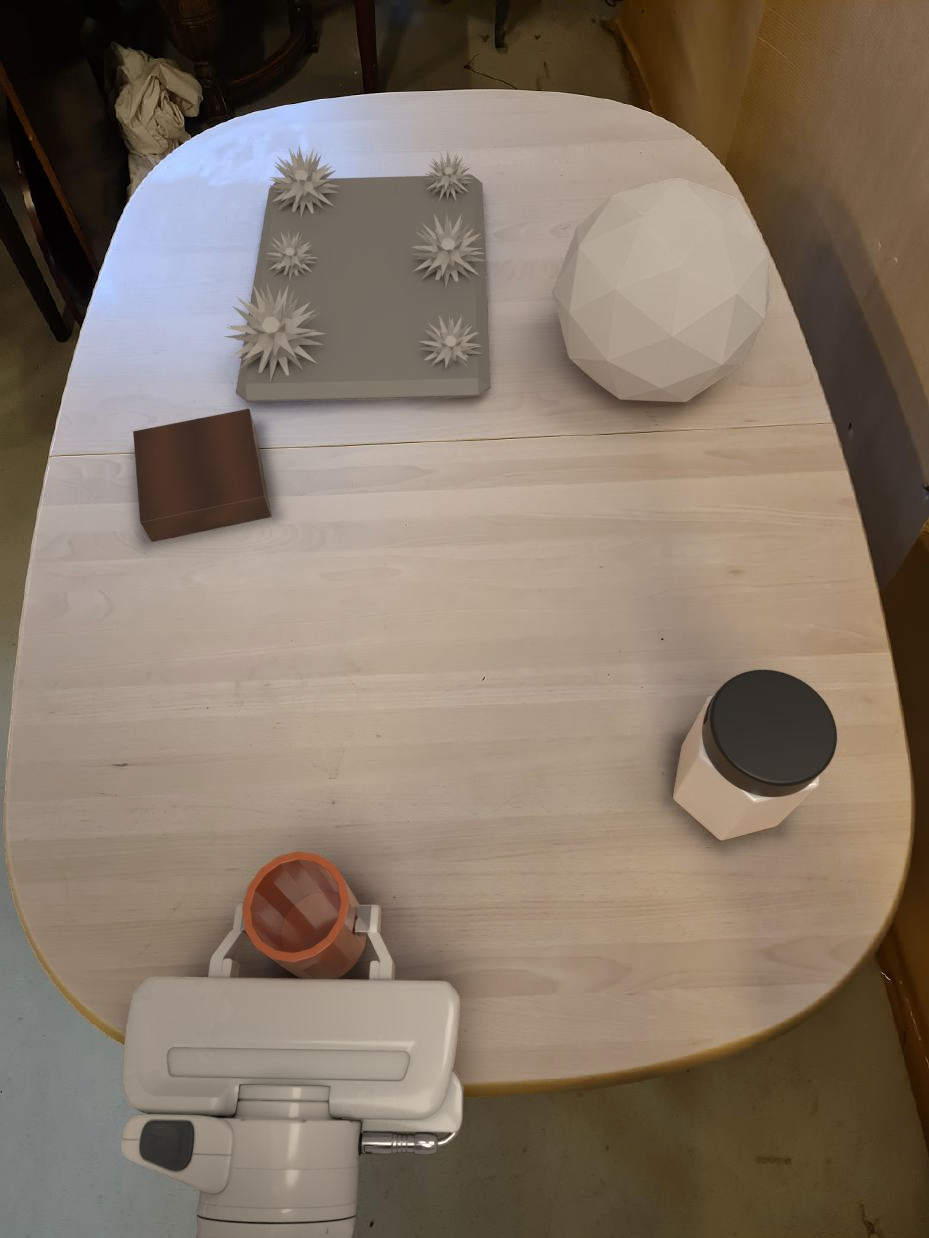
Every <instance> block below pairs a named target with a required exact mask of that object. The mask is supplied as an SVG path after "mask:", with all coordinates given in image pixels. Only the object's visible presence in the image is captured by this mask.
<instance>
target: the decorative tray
mask: <svg viewBox="0 0 929 1238" xmlns="http://www.w3.org/2000/svg"><path fill="white" fill-rule="evenodd" d="M314 149H315V147H313V148H312V150H311V152H310V155H309V156H308V155H306V156H305V160H304V158H303V154H302V151H301V148H300V146H298V151H296V155H295V152H294V151H293V152H292V150H291V149H290V148H288V151H289V155H290V156H289V157H290V160H291V163H290V162H289V161H288V160H287V159H285V158H284V160H285V161H284V160H283V159H281V157H279V156H278V155H276V157H277V159H278V160H279V162H280V163H281V164H282V165H283V166H282V165H280V164H279V163H277V162H276V161H275V160H274V163H275V165H274V167H275V168H276V170H277V171H279V172H280V174H282V176H284V177H282V176H281V177H279V176H276V177H275V176H269V178H270V181H272V182H274V183H273V184H272V185H269V188H268V193H267V199H266V204H265V205H266V206H265V211H264V217H263V222H262V230H261V234H260V235H261V236H260V240H259V241H260V242H259V247H258V252H257V253H258V254H257V255H258V256H257V260H256V264H255V265H256V266H255V272H254V278H253V285H252V291H251V297H250V301H249V300H248V301H247V302H248V303H247V302H245V301H244V300H242V299H241V298H240V297H238V296H236V298H237V300H238V301H240V303H241V304H242V305H243V306H244V308H245V309H246V310H247V311H248V313H246V312H245V311H243V310H241V309H239V308H238V307H236V306H232V308H233V309H234V310H235V311H237V313H238V314H239V315H240V316H241V317H243V319H245V320H246V325H228V326H227V327H225V329H230V330H233V331H238V332H242V333H241V334H233V335H225V336H223V337H224V338H229V339H234V340H235V341H242V342H243V345H242V347H241V348H240V349H239V350H237V351H236V352H235V353H234V354H232V355H231V356H230V357H229V358H233V357H237V356H239V355H240V356H239V357H238V358H237V360H238V359H240V364H239V370H238V376H237V381H236V388H235V394H236V395H237V396H238V397H240V398H241V399H242V400H244V401H245V402H246V403H266V402H267V403H271V402H275V403H277V402H309V401H310V402H311V401H312V402H313V401H314V402H315V401H346V400H347V401H350V400H353V401H354V400H356V401H358V400H391V399H394V400H395V399H396V400H397V399H430V398H432V399H434V398H436V399H437V398H438V399H439V398H440V399H441V398H475V397H477V398H478V397H480V396H482V395H483V394H484V393H485V392H487V391H488V390H490V389H491V359H490V337H489V336H490V335H489V313H488V312H489V311H488V288H487V264H486V263H487V261H486V254H487V253H486V238H485V236H486V235H485V214H484V213H485V211H484V189H483V185H484V184H483V182H482V181H480V179H478V178H476V176H474V175H473V174H471V173H466V172H467V171H468V170H470V168H471V167H469V166H470V163H469V164H467V165H465V163H466V162H463V163H462V161H463V158H464V157H463V156H462V157H461V158H460V159H459V155H458V152H456V153H455V155H454V158H453V159H452V161H451V158H450V154H449V151H447V153H446V160H445V159H444V157H443V155H442V153H441V152H439V156H440V160H439V162H438V161H437V160H435V159H434V157H431V160H432V161H431V163H432V164H433V165H432V164H429V167H430V168H431V169H432V170H433V171H428V173H425V175H408V176H406V175H405V176H403V175H402V176H371V177H366V176H365V177H336V178H335V177H334V178H329V177H330V176H331V175H332V174H334V173H335V172H336V171H337V169H335V170H332V171H330V169H331V168H332V167H333V165H331V166H329V163H327V164H325V165H323V166H321V167H320V168H318V167H319V164H320V161H321V157H322V154H320V156H319V157H318V153H319V152H318V151H317V152H316V154H315V156H314ZM313 156H314V158H313ZM317 157H318V158H317ZM458 159H459V160H458ZM461 163H462V164H461ZM328 171H329V172H328Z"/></svg>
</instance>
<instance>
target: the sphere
mask: <svg viewBox="0 0 929 1238" xmlns="http://www.w3.org/2000/svg"><path fill="white" fill-rule="evenodd" d="M769 260H770V259H769V251H768V249H767V247H766V245H765V244H764V242H763V240H762V239H761V237H760V235H759V233H758V232H757V230H756V228H755V226H754V225H753V222H752V220H751V219H750V217H749V215H748V214H747V212H746V210H745V208H744V206H743V205H742V203H741V202H740V200H739V198H738V197H736V196H734V195H731V194H728V193H725V192H722V191H720V190H717V189H714V188H711V187H709V186H705V185H703V184H701V183H700V184H699V183H697V182H693V181H691V180H688V179H685V178H683V177H680V176H677V177H672V178H666V179H661V180H657V181H653V182H648V183H644V184H638V185H633V186H632V187H631V186H630V187H629V188H626V189H624V190H622V191H619V192H616V193H614V194H613V195H611V197H609V198H608V199H607V200H606V201H605V202H603V203H602V204H601V205H600V206H599V207H597V209H595V210H594V211H593V212H592V213H591V214H589V216H587V217H586V218H585V219H584V220H583V221H581V222H580V223H579V224H577V226H576V228H575V230H574V233H573V236H572V238H571V241H570V243H569V246H568V249H567V252H566V254H565V257H564V260H563V262H562V265H561V267H560V269H559V273H558V276H557V279H556V281H555V284H554V287H553V289H552V291H551V292H552V297H553V301H554V305H555V308H556V312H557V317H558V320H559V324H560V328H561V332H562V337H563V340H564V345H565V348H566V352H567V357H568V359H569V360H571V361H572V363H574V364H575V365H576V366H577V367H578V368H579V369H580V370H582V372H584V373H585V374H586V375H587V376H588V377H589V378H590V379H591V380H593V381H594V382H595V383H596V384H598V385H599V386H600V387H602V388H603V389H605V390H606V391H607V392H608V393H610V394H611V395H613V396H614V397H616V399H618V400H620V401H622V400H625V401H647V402H670V403H671V402H673V403H674V402H675V403H676V402H677V403H687V402H689V401H690V400H691V399H693V398H694V397H696V396H698V395H699V394H701V393H702V392H703V391H706V389H709V388H710V387H711V386H713V385H715V384H716V383H717V382H719V381H720V380H721V379H723V378H725V377H726V376H728V375H730V374H731V373H732V372H734V371H736V370H738V369H739V368H740V367H742V366H743V365H744V364H745V362H746V360H747V358H748V356H749V353H750V351H751V349H752V347H753V345H754V343H755V341H756V339H757V336H758V334H759V332H760V331H761V328H762V326H763V325H764V322H765V320H766V317H767V312H768V309H769V305H770V301H771V286H770V285H771V284H770V262H769Z"/></svg>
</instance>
